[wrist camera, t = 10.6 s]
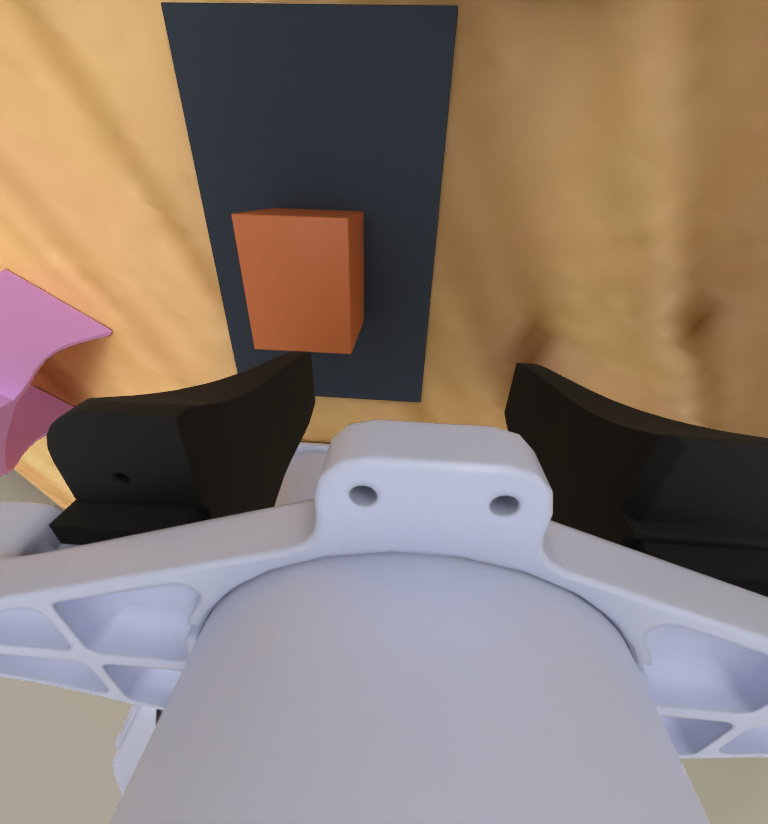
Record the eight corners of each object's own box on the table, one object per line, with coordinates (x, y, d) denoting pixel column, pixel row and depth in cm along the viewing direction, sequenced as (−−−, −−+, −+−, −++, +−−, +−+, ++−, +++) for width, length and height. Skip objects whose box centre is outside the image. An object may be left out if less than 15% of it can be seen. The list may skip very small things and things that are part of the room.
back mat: (420, 399, 24) (420, 402, 24) (243, 389, 24) (241, 391, 24) (457, 9, 14) (458, 4, 14) (165, 5, 15) (160, 1, 15)
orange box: (363, 320, 21) (351, 354, 17) (286, 317, 21) (254, 349, 17) (363, 211, 18) (348, 217, 14) (273, 207, 18) (230, 213, 14)
